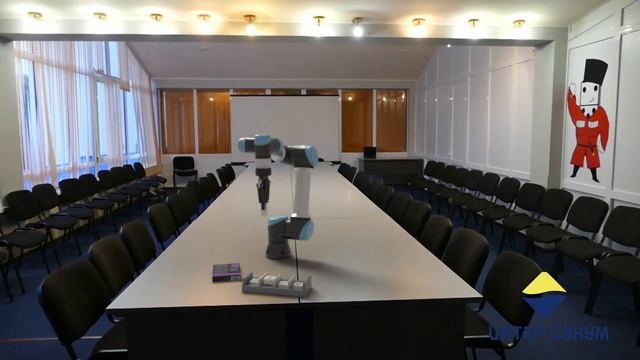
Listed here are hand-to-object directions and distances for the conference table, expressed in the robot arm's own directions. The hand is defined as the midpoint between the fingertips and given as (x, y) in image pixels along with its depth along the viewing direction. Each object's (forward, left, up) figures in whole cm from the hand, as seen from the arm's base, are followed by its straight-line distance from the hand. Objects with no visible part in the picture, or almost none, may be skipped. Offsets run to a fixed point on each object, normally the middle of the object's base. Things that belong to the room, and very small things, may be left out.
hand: (264, 216), depth 213 cm
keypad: (+9, +9, -32) cm, 35 cm away
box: (-5, -23, -33) cm, 41 cm away
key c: (+9, +19, -31) cm, 38 cm away
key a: (+9, +13, -31) cm, 35 cm away
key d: (+9, +5, -29) cm, 31 cm away
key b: (+9, -1, -31) cm, 33 cm away
